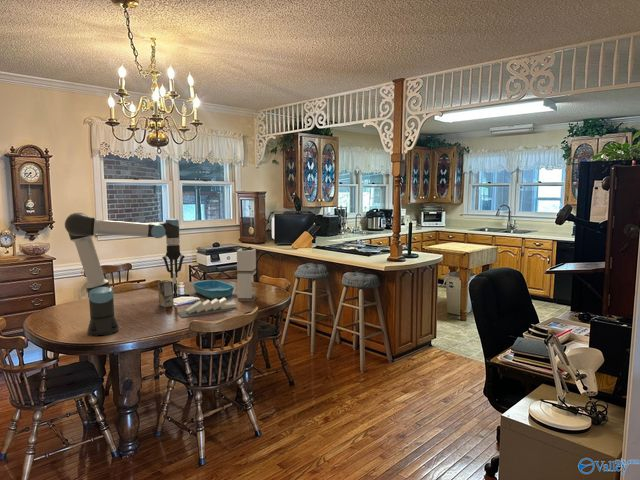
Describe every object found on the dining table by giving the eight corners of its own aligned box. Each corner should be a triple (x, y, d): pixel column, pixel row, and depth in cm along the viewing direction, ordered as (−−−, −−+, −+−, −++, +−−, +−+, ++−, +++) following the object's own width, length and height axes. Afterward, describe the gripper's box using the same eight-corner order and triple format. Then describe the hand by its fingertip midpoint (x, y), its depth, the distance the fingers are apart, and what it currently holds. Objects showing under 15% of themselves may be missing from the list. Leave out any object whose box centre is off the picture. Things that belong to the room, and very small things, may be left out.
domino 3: (204, 308, 263) (218, 300, 268) (202, 306, 268) (215, 298, 272) (205, 311, 264) (219, 303, 268) (203, 309, 268) (217, 301, 273)
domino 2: (196, 309, 261) (210, 301, 265) (193, 307, 265) (208, 299, 269) (197, 312, 262) (211, 304, 266) (195, 310, 266) (209, 302, 270)
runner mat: (181, 318, 253) (181, 317, 253) (177, 313, 263) (176, 312, 263) (233, 310, 270) (233, 309, 270) (226, 305, 280) (226, 304, 280)
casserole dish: (239, 296, 305) (239, 286, 304) (211, 301, 291) (210, 291, 290) (215, 287, 333) (215, 278, 332) (188, 291, 318) (188, 282, 318)
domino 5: (221, 305, 269) (236, 303, 274) (218, 304, 273) (233, 302, 278) (221, 309, 269) (236, 307, 274) (218, 307, 273) (233, 305, 279)
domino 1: (187, 311, 258) (202, 302, 262) (185, 309, 262) (199, 300, 267) (189, 314, 259) (203, 305, 263) (187, 312, 263) (201, 303, 267)
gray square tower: (253, 301, 291) (252, 250, 287) (237, 301, 291) (236, 250, 287) (256, 297, 302) (255, 248, 298) (241, 296, 303) (240, 248, 298)
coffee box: (174, 305, 280) (173, 281, 278) (165, 307, 276) (164, 283, 274) (167, 303, 287) (166, 279, 285) (158, 304, 282) (157, 281, 280)
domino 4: (212, 307, 266) (226, 298, 270) (210, 305, 270) (223, 297, 275) (214, 310, 267) (227, 301, 271) (211, 308, 271) (225, 300, 275)
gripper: (162, 245, 248) (164, 285, 250) (185, 244, 254) (186, 283, 257) (160, 244, 254) (161, 283, 257) (182, 243, 261) (183, 280, 263)
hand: (174, 283), depth 257 cm, fingers closed
